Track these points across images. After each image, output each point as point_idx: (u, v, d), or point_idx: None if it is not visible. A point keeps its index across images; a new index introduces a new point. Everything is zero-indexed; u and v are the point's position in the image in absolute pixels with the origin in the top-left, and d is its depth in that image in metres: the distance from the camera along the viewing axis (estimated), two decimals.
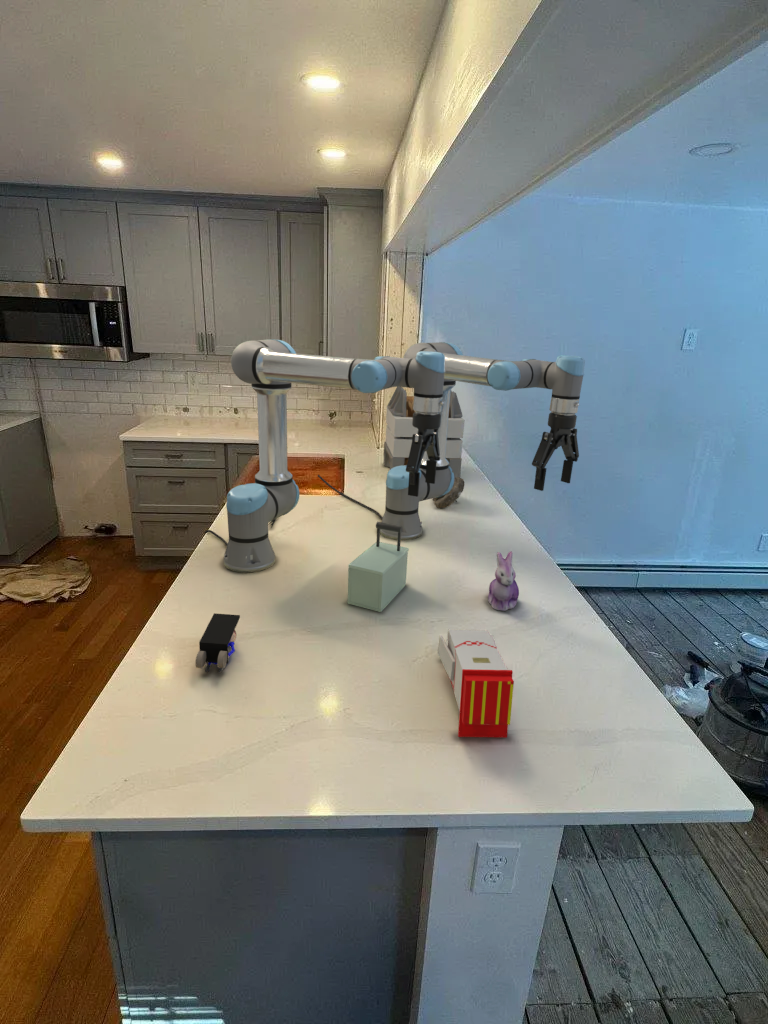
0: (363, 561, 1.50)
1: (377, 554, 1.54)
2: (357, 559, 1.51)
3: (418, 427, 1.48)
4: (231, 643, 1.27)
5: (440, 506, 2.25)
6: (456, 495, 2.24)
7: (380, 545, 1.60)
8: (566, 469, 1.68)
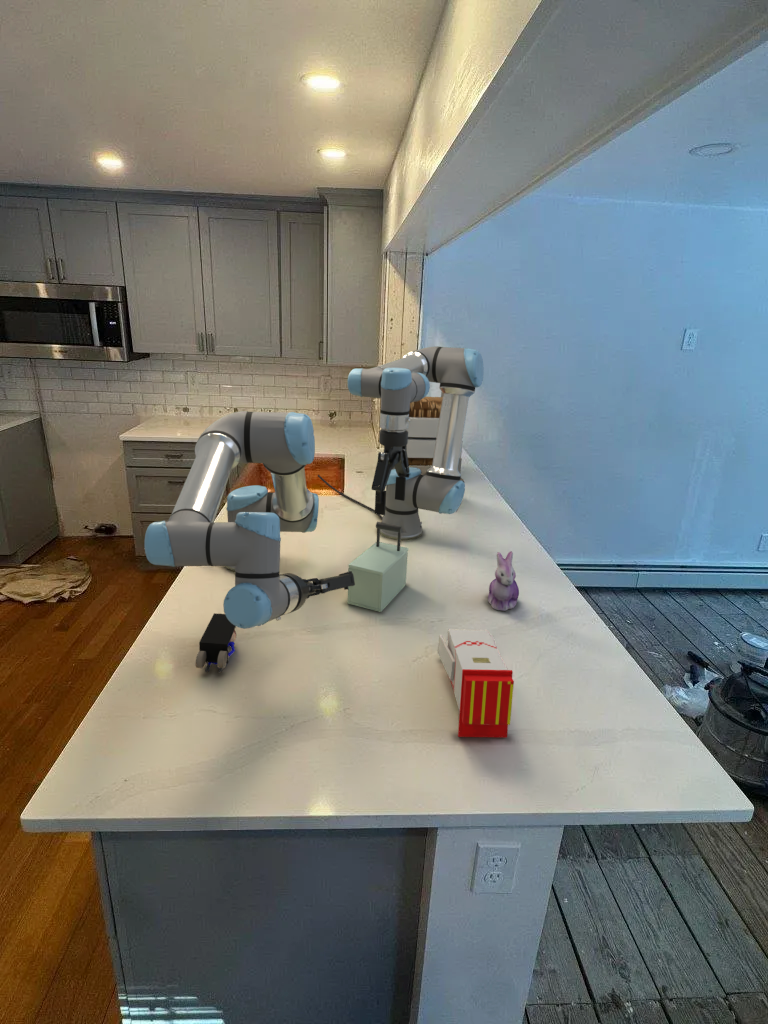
0: (363, 561, 1.50)
1: (377, 554, 1.54)
2: (357, 559, 1.51)
3: None
4: (231, 643, 1.27)
5: None
6: None
7: (380, 545, 1.60)
8: (399, 486, 1.59)
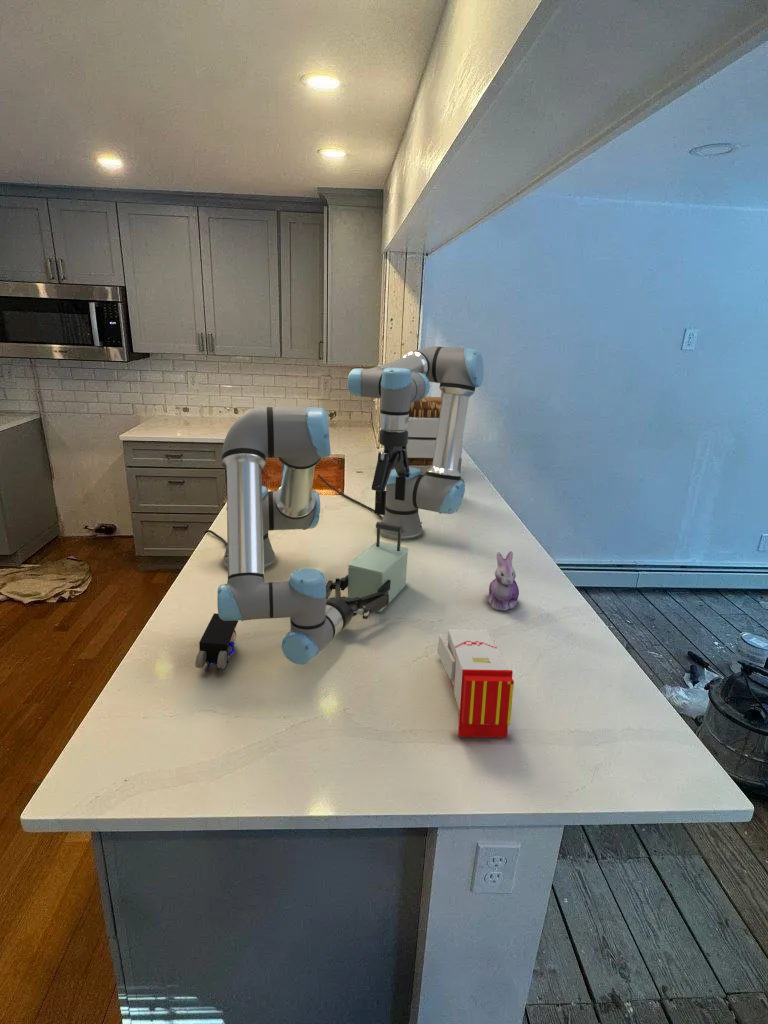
0: (363, 561, 1.50)
1: (377, 554, 1.54)
2: (357, 559, 1.51)
3: None
4: (231, 643, 1.27)
5: None
6: None
7: (380, 545, 1.60)
8: (399, 486, 1.59)
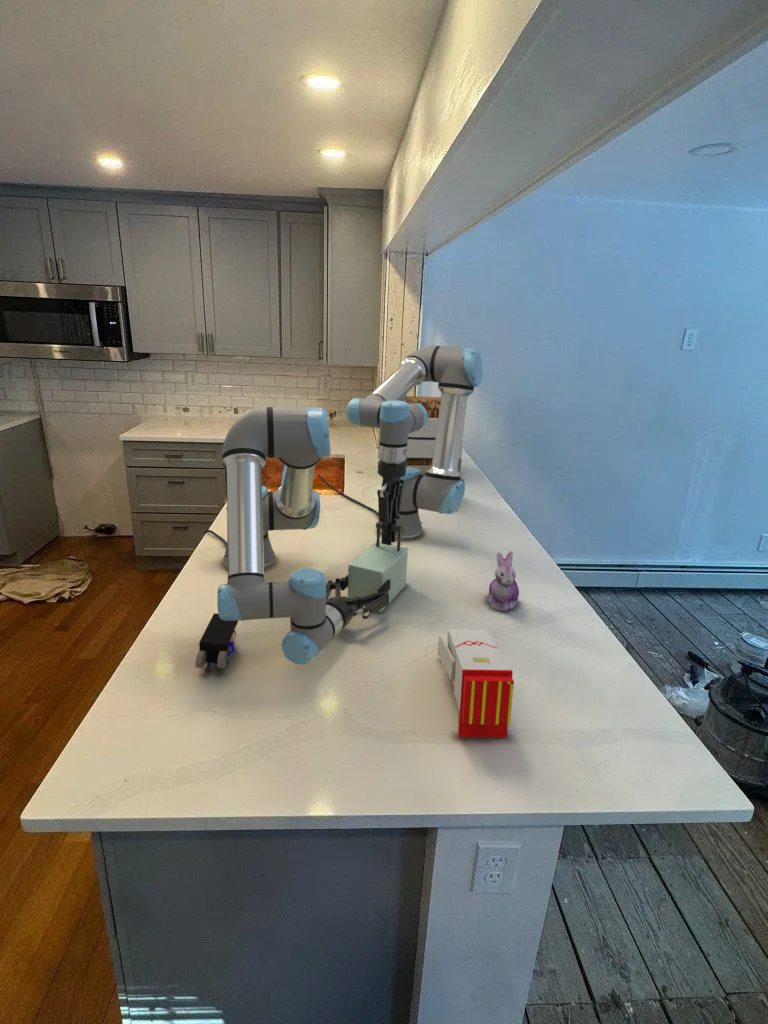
0: (363, 561, 1.50)
1: (377, 554, 1.54)
2: (357, 559, 1.51)
3: None
4: (231, 643, 1.27)
5: None
6: None
7: (380, 545, 1.60)
8: None
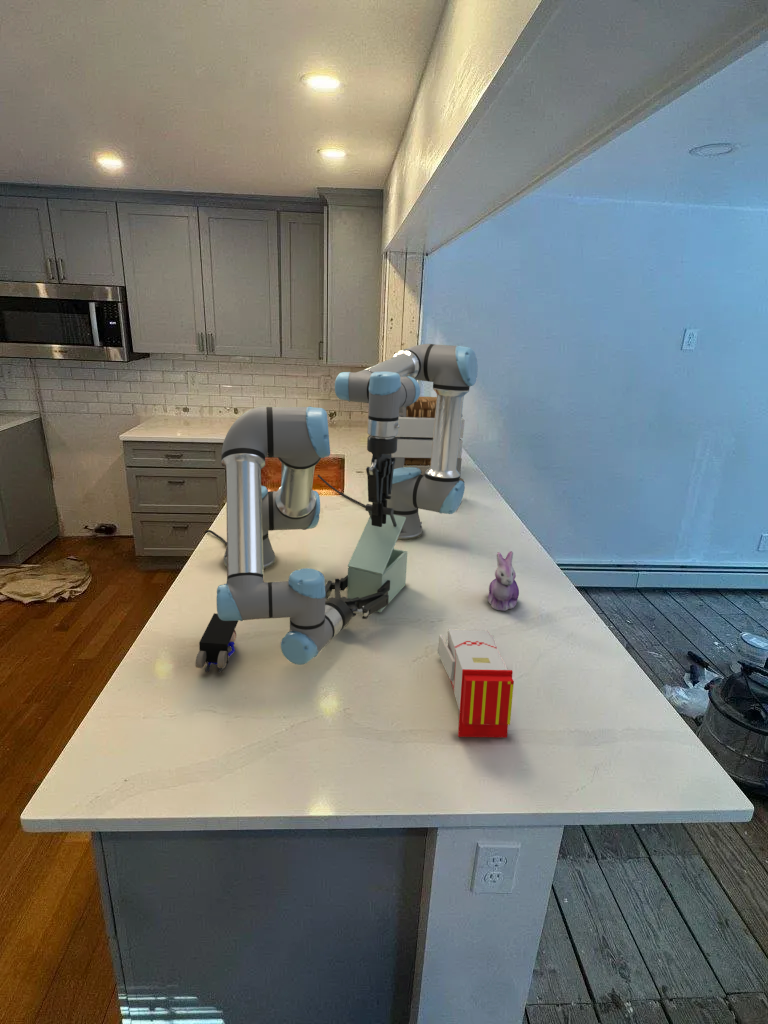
0: (361, 556, 1.48)
1: (374, 538, 1.50)
2: (355, 553, 1.49)
3: None
4: (231, 643, 1.27)
5: None
6: None
7: None
8: None
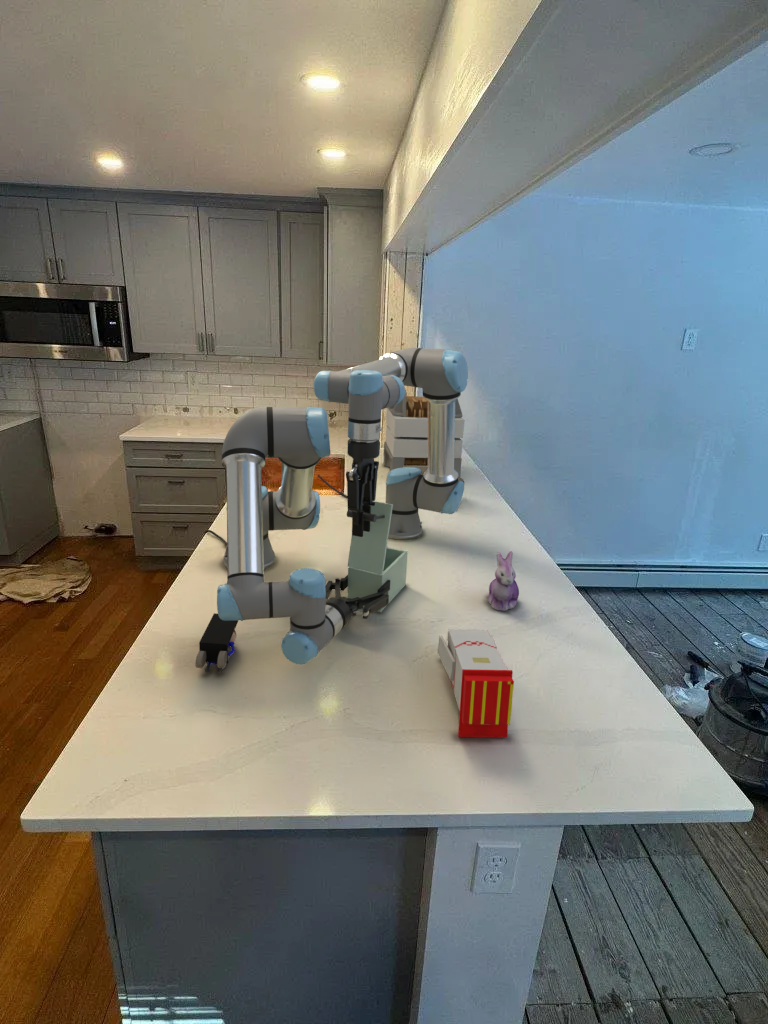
0: (358, 555, 1.46)
1: (366, 533, 1.45)
2: (351, 552, 1.47)
3: None
4: (231, 643, 1.27)
5: None
6: None
7: None
8: None
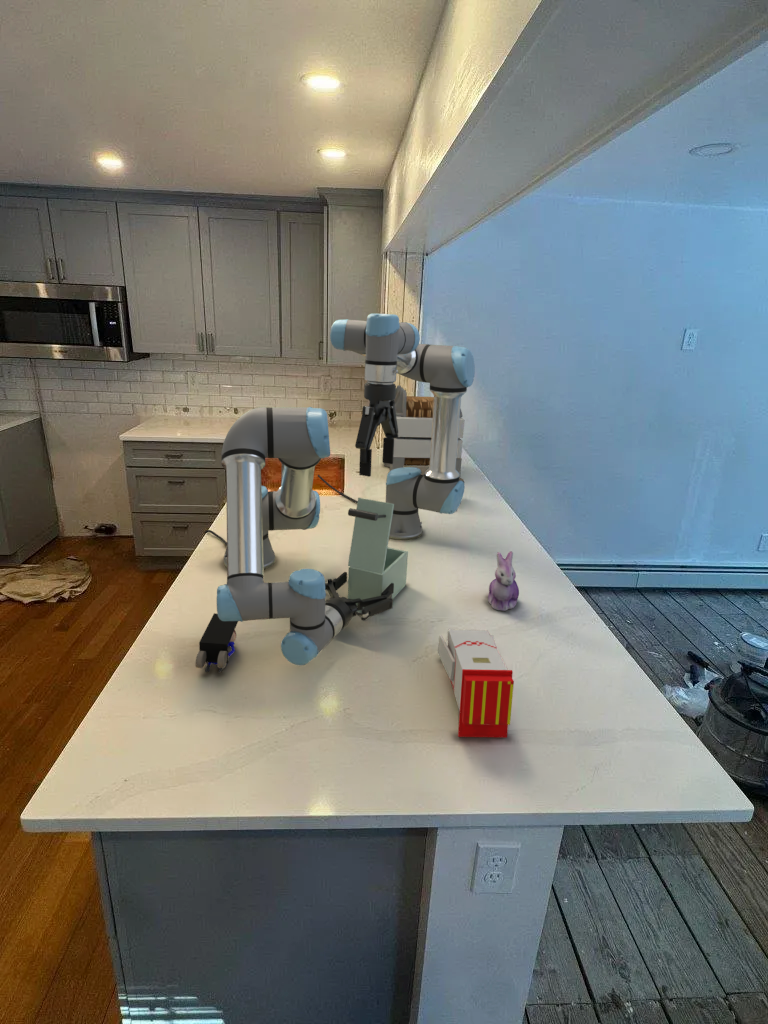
0: (358, 554, 1.46)
1: (367, 532, 1.45)
2: (352, 551, 1.47)
3: None
4: (231, 643, 1.27)
5: None
6: None
7: (364, 508, 1.45)
8: (387, 448, 1.46)
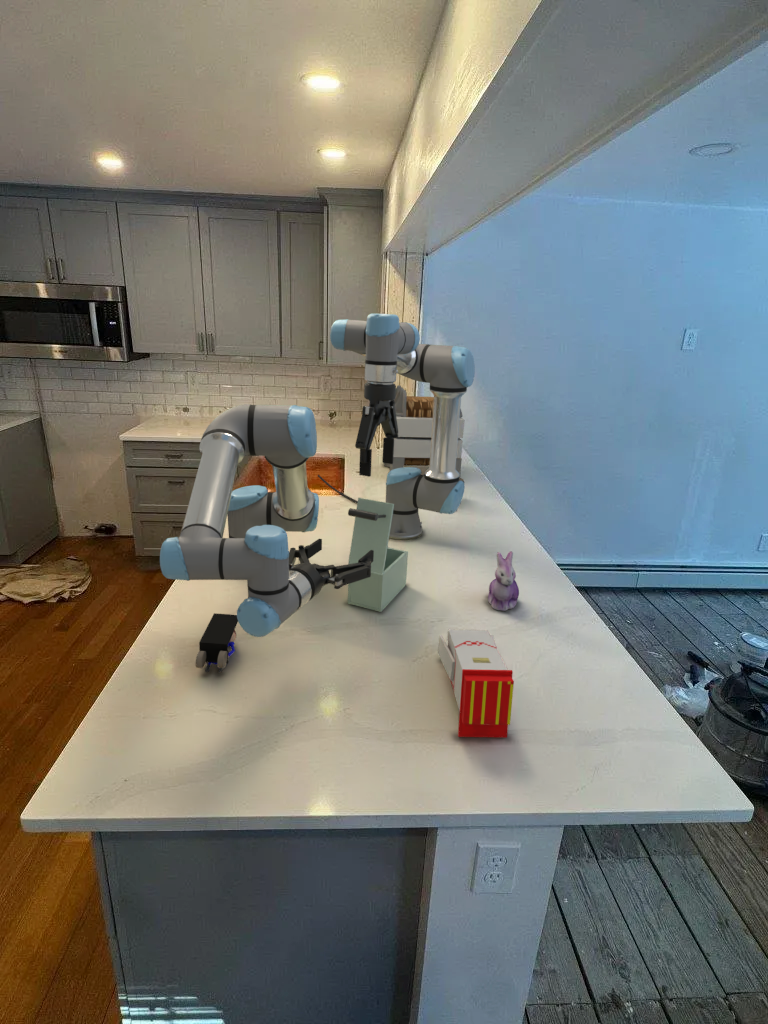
0: (358, 554, 1.46)
1: (367, 532, 1.45)
2: (352, 551, 1.47)
3: None
4: (231, 643, 1.27)
5: None
6: None
7: (364, 508, 1.45)
8: (387, 448, 1.46)
